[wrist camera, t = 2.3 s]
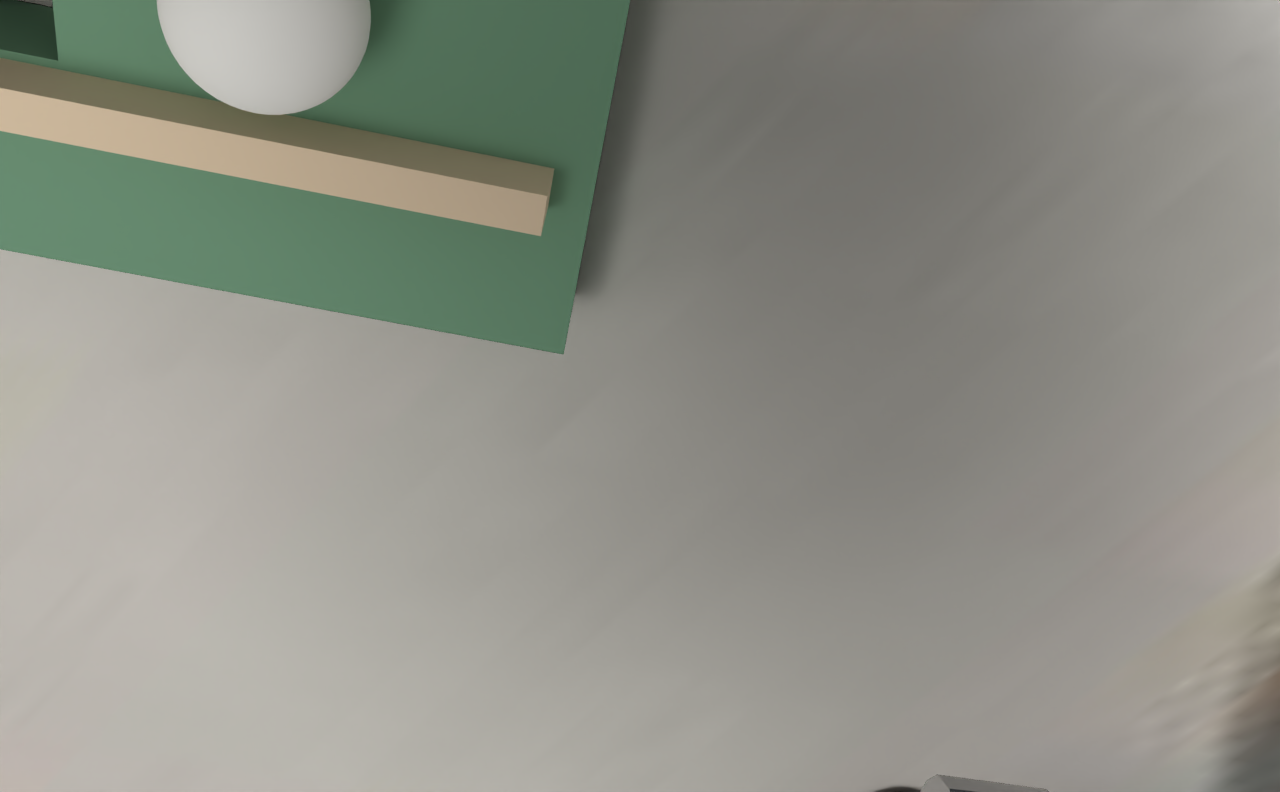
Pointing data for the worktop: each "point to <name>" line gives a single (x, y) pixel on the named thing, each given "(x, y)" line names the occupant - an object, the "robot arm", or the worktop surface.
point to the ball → (267, 49)
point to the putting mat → (323, 162)
